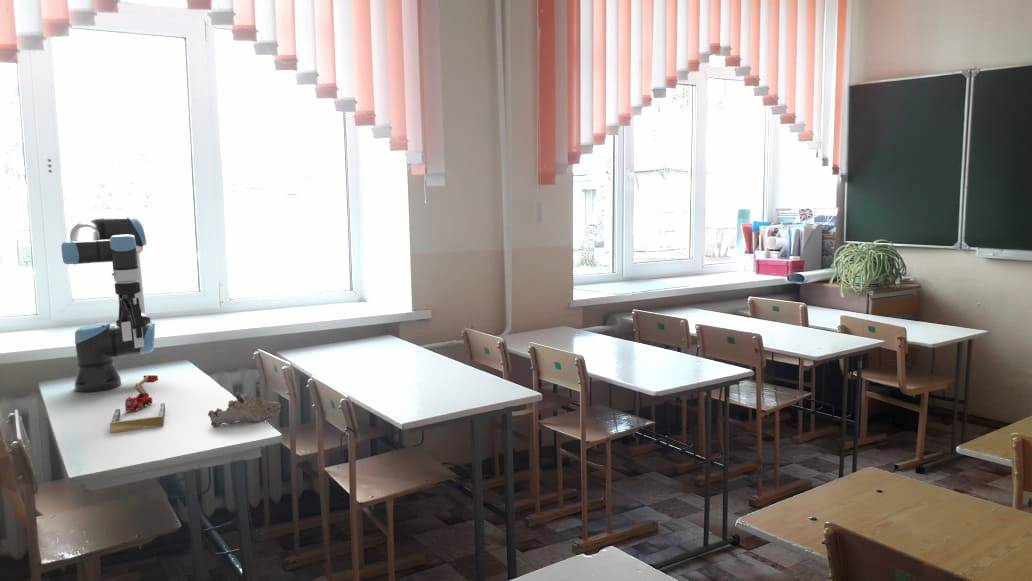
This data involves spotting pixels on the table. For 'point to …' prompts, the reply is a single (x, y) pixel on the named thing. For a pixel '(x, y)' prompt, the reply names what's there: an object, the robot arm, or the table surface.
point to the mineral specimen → (245, 411)
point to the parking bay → (136, 421)
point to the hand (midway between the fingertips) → (133, 344)
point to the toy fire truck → (140, 395)
